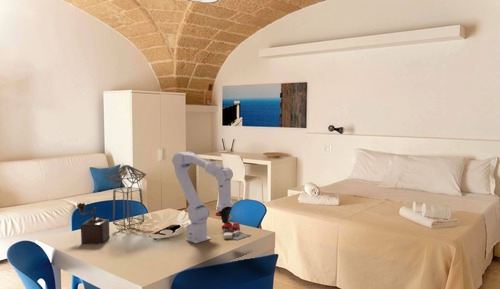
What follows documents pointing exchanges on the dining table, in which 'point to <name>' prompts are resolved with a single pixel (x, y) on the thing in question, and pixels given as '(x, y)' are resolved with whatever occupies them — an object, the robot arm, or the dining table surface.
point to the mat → (240, 236)
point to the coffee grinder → (93, 228)
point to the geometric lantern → (127, 192)
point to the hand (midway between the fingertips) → (225, 222)
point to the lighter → (230, 235)
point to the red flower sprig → (229, 224)
